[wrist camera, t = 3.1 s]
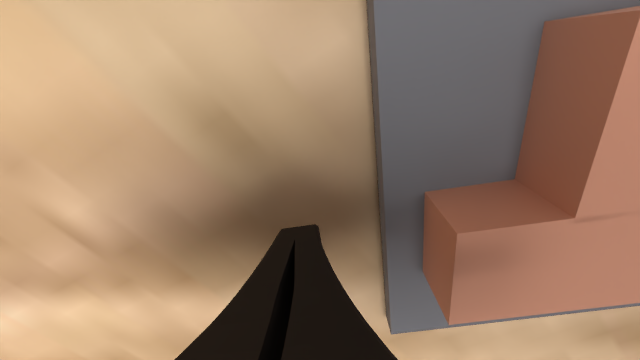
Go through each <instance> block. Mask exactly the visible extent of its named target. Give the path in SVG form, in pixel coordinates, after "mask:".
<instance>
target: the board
mask: <svg viewBox="0 0 640 360" xmlns="http://www.w3.org/2000/svg"><path fill="white" fill-rule="evenodd" d="M635 6H640V0H367V14H368V30H369V46H370V62H371V78H372V94H373V110H374V126H375V142H376V158H377V174H378V190H379V206H380V222H381V238H382V254H383V270H384V286H385V302H386V317H387V321H388V324H389V328H390V332H391V334H398V333H407V332H416V331H424V330H433V329H442V328H450V327H459V326H467V325H476V324H485V323H493V322H502V321H511V320H519V319H528V318H536V317H545V316H554V315H562V314H571V313H580V312H588V311H597V310H605V309H614V308H623V307H631V306H640V303H634V304H626V305H617V306H608V307H600V308H591V309H583V310H574V311H565V312H557V313H548V314H540V315H531V316H523V317H514V318H505V319H497V320H488V321H480V322H471V323H462V324H454V325H448V322H447V320H446V318H445V316H444V314H443V312H442V310H441V308H440V306H439V304H438V302H437V300H436V298H435V296H434V294H433V292H432V290H431V288H430V286H429V284H428V282H427V280H426V277H425V275H424V273H423V239H424V198H425V192H427V191H435V190H442V189H449V188H456V187H463V186H470V185H477V184H484V183H492V182H499V181H506V180H513V179H515V175H516V170H517V165H518V159H519V154H520V149H521V143H522V138H523V133H524V127H525V122H526V117H527V112H528V106H529V101H530V96H531V90H532V85H533V80H534V74H535V69H536V64H537V59H538V53H539V48H540V43H541V37H542V32H543V27H544V22H545V21H551V20H557V19H563V18H569V17H575V16H581V15H587V14H593V13H599V12H605V11H611V10H617V9H623V8H629V7H635Z"/></svg>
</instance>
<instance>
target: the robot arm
mask: <svg viewBox="0 0 640 360" xmlns="http://www.w3.org/2000/svg"><path fill="white" fill-rule="evenodd" d="M175 360H398V359H397V358H396V357H395V356H394V355H393V354H392V353H391V351H390V350H389V349H388V348H387V347H386V345H385V344H384V343H383V342H382V340H381V339H380V338H379V337H378V335H377V334H376V333H375V332H374V331H373V329H372V328H371V327H370V326H369V324H368V323H367V322H366V320H365V319H364V318H363V316H362V315H361V314H360V312H359V311H358V309H357V308H356V307H355V305H354V304H353V302H352V301H351V299H350V298H349V296H348V295H347V293H346V291H345V290H344V288H343V287H342V285H341V283H340V281H339V280H338V278H337V276H336V274H335V273H334V271H333V269H332V267H331V265H330V263H329V261H328V258H327V256H326V254H325V252H324V249H323V247H322V244H321V238H320V233H319V228H318V226H316V225H307V226H300V227H293V228H286V229H282V230H281V231H280V232H279V234H278V235H277V237H276V238H275V240H274V242H273V243H272V245H271V246H270V248H269V250H268V251H267V253H266V254H265V256H264V257H263V259H262V260H261V262H260V263H259V265H258V266H257V267H256V269H255V270H254V272H253V273H252V275H251V276H250V277H249V279H248V280H247V281H246V283H245V284H244V285H243V286H242V288H241V289H240V290H239V292H238V293H237V294H236V296H235V297H234V298H233V299H232V300H231V302H230V303H229V304H228V305H227V306H226V308H225V309H224V310H223V311H222V312H221V313H220V314H219V316H218V317H217V318H216V319H215V320H214V321H213V322H212V323H211V324H210V325H209V326H208V327H207V328H206V329H205V330H204V331H203V332H202V333H201V334H200V335H199V336H198V337H197V338H196V339H195V340H194V341H193V342H192V343H191V344H190V345H189V346H188V347H187V348H186V349H185V350H184V351H183V352H182V353H181V354H180V355H179V356H178V357H177V358H176V359H175Z"/></svg>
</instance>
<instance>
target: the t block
mask: <svg viewBox="0 0 640 360" xmlns="http://www.w3.org/2000/svg"><path fill="white" fill-rule="evenodd" d="M423 273H424V275H425V277H426V280H427V282H428V284H429V286H430V288H431V290H432V292H433V294H434V296H435V298H436V300H437V302H438V304H439V306H440V308H441V310H442V312H443V314H444V316H445V318H446V320H447V322H448V325H454V324H462V323H471V322H480V321H488V320H497V319H505V318H514V317H523V316H531V315H540V314H548V313H557V312H565V311H574V310H583V309H591V308H600V307H608V306H617V305H626V304H634V303H640V6H635V7H629V8H623V9H617V10H611V11H605V12H599V13H593V14H587V15H581V16H575V17H569V18H563V19H557V20H551V21H545V22H544V27H543V32H542V37H541V43H540V48H539V53H538V59H537V64H536V69H535V74H534V80H533V85H532V90H531V96H530V101H529V106H528V112H527V117H526V122H525V127H524V133H523V138H522V143H521V149H520V154H519V159H518V165H517V170H516V175H515V179H513V180H506V181H499V182H492V183H484V184H477V185H470V186H463V187H456V188H449V189H442V190H435V191H427V192H425V198H424V239H423Z"/></svg>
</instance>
